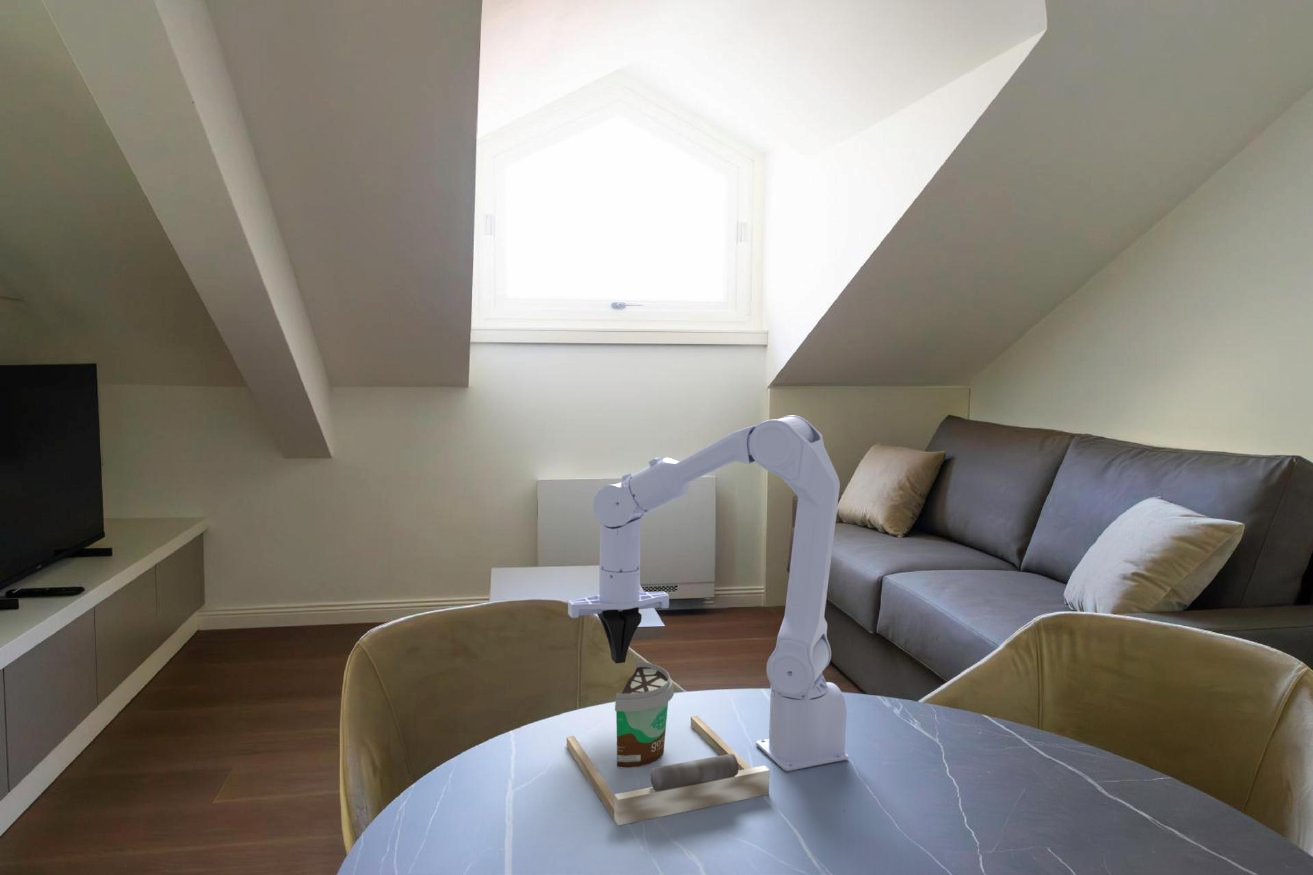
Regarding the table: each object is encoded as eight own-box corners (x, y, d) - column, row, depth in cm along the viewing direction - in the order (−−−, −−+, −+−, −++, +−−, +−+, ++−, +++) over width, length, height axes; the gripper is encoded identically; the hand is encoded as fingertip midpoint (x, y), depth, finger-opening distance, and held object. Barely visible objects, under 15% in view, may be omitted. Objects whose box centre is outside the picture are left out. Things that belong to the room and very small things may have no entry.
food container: (662, 778, 104) (664, 699, 103) (614, 772, 105) (615, 694, 104) (680, 734, 116) (681, 663, 115) (636, 729, 117) (637, 659, 116)
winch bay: (697, 723, 119) (697, 686, 118) (771, 796, 100) (772, 752, 99) (566, 745, 112) (566, 706, 111) (619, 828, 93) (620, 781, 92)
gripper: (656, 556, 125) (654, 645, 127) (562, 564, 120) (561, 656, 121) (675, 568, 119) (673, 661, 120) (576, 577, 113) (575, 674, 115)
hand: (618, 660), depth 120 cm, fingers closed
